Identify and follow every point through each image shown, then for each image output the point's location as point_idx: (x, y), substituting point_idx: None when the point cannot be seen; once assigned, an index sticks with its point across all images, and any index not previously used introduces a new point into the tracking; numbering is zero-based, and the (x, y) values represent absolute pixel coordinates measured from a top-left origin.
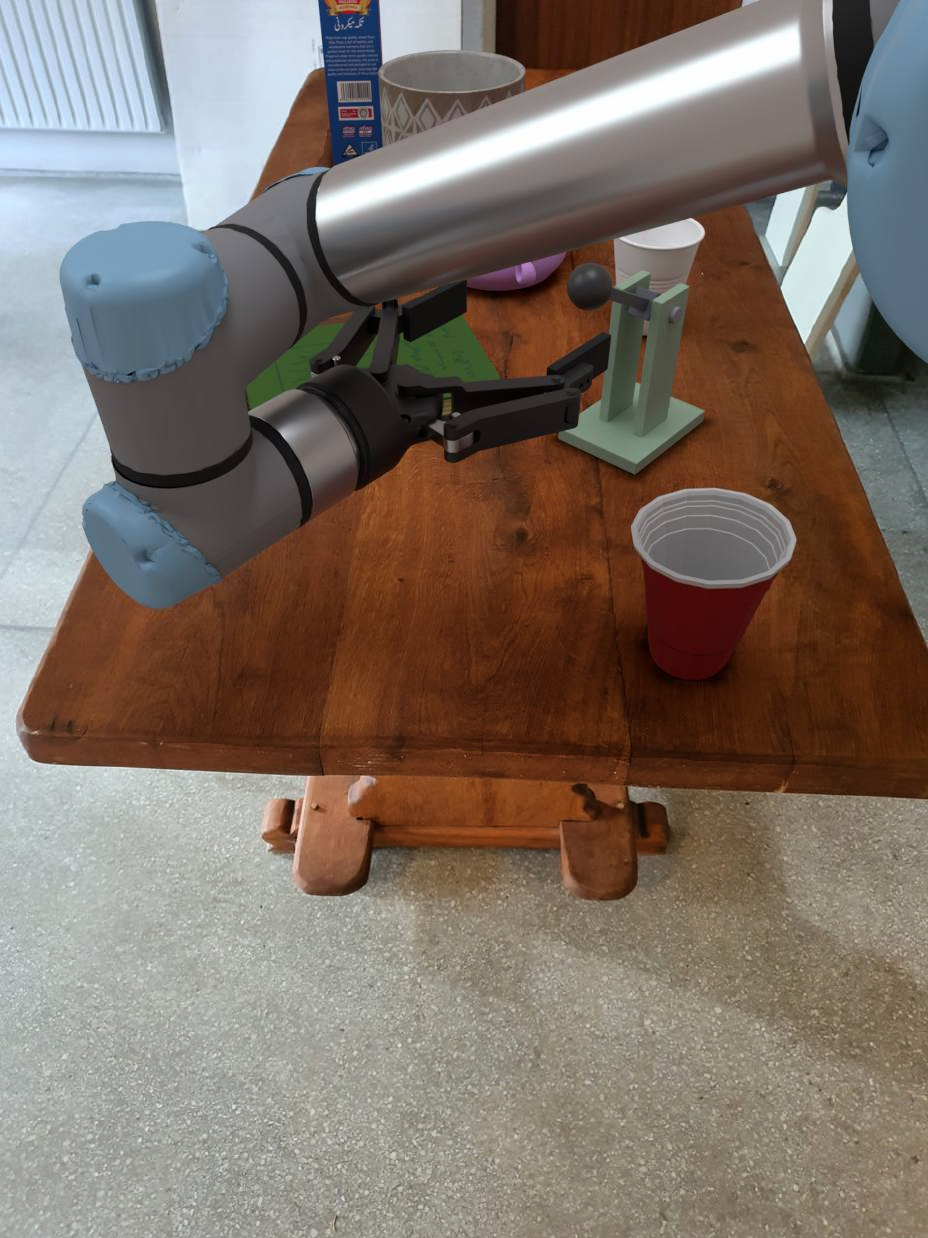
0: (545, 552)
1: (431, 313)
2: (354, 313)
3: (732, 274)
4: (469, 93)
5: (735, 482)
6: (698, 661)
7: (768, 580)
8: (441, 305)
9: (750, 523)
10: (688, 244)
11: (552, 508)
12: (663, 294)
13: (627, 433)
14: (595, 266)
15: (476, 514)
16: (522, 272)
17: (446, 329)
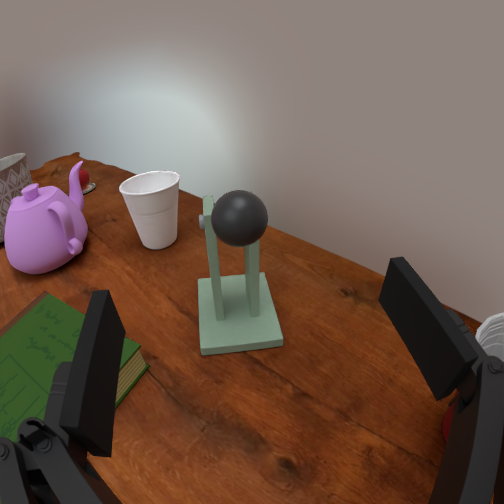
0: (321, 461)
1: (102, 386)
2: (2, 494)
3: None
4: (2, 171)
5: (331, 305)
6: None
7: None
8: (104, 359)
9: (495, 332)
10: (177, 180)
11: (274, 420)
12: None
13: (247, 319)
14: (243, 192)
15: (232, 476)
16: (73, 247)
17: (53, 316)
